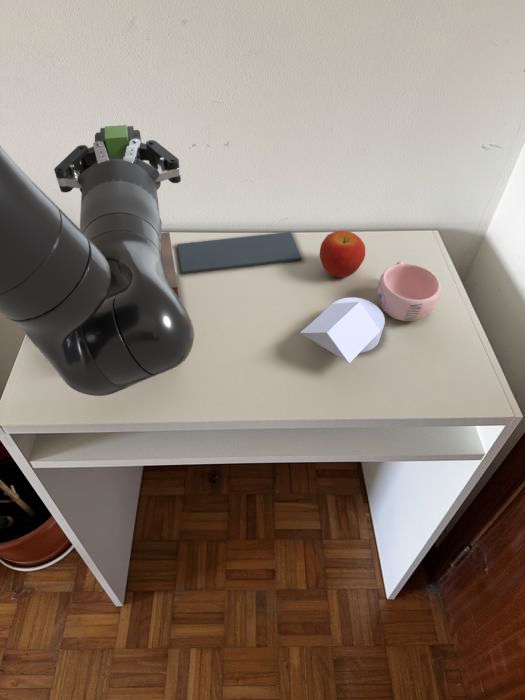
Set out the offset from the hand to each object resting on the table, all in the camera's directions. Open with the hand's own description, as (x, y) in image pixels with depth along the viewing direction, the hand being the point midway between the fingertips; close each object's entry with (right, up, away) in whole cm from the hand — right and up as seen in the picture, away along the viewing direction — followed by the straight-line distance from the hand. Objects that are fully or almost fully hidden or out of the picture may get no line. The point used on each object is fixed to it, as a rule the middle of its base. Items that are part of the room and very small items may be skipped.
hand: (118, 134), depth 60 cm
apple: (+31, -12, +31) cm, 45 cm away
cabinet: (-2, -19, +23) cm, 30 cm away
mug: (+41, -18, +26) cm, 52 cm away
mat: (+13, -8, +33) cm, 36 cm away
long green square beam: (0, -11, +8) cm, 14 cm away
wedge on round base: (+31, -24, +20) cm, 44 cm away
